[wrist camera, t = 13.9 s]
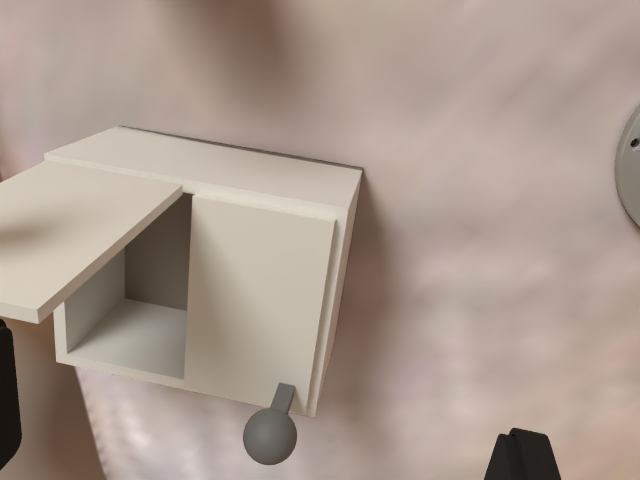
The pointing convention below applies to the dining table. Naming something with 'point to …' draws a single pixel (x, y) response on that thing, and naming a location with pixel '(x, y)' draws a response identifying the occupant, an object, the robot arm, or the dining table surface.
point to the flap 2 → (256, 312)
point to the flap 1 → (67, 230)
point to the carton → (174, 250)
